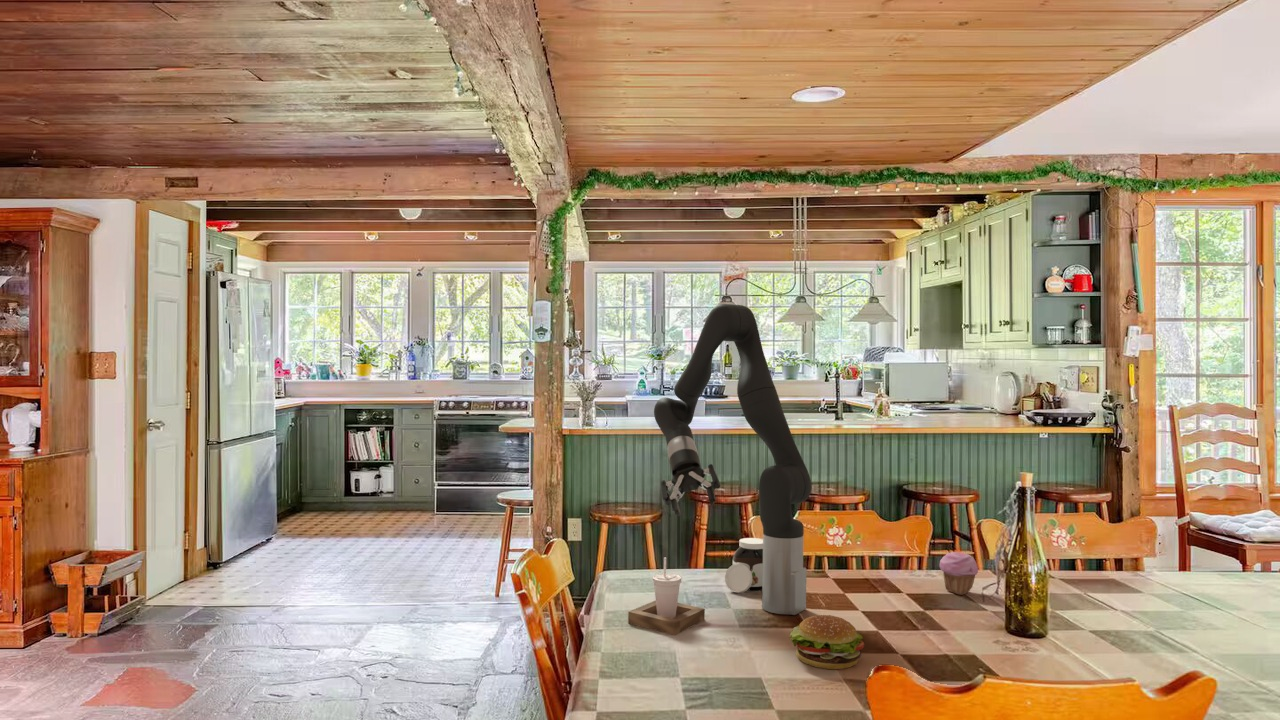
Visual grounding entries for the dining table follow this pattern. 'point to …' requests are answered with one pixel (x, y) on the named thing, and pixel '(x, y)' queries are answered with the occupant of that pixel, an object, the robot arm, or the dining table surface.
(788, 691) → the dining table surface
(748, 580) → the spread jar
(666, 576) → the smoothie
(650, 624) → the walnut socket block
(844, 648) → the food
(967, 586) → the cupcake
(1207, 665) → the dining table surface
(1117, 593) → the dining table surface
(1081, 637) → the dining table surface
